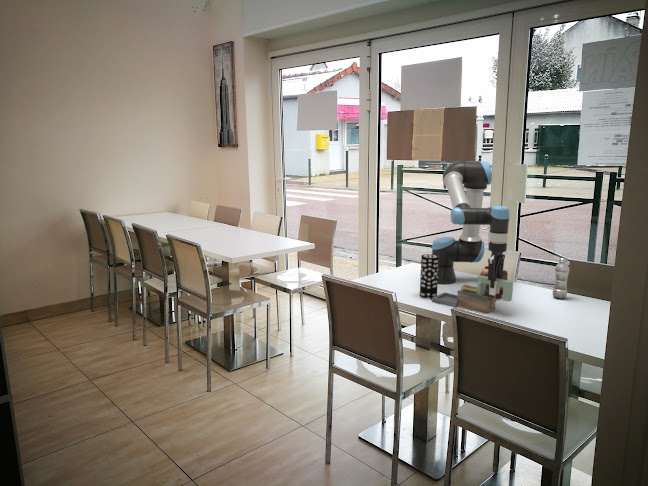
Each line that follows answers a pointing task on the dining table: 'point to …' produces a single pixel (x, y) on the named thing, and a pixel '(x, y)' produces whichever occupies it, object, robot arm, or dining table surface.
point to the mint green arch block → (505, 284)
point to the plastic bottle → (561, 278)
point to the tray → (446, 299)
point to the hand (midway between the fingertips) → (494, 293)
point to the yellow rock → (473, 290)
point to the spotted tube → (429, 276)
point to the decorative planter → (485, 273)
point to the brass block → (465, 288)
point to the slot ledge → (476, 301)
